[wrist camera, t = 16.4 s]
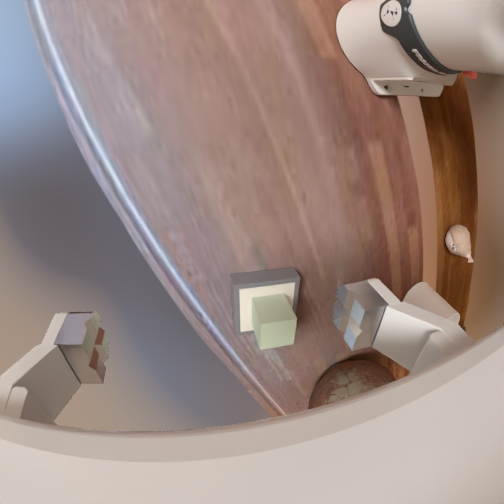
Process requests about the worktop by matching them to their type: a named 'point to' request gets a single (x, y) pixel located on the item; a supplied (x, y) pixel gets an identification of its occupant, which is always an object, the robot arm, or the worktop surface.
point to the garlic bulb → (459, 241)
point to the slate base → (260, 293)
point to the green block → (273, 321)
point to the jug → (348, 381)
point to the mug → (430, 301)
